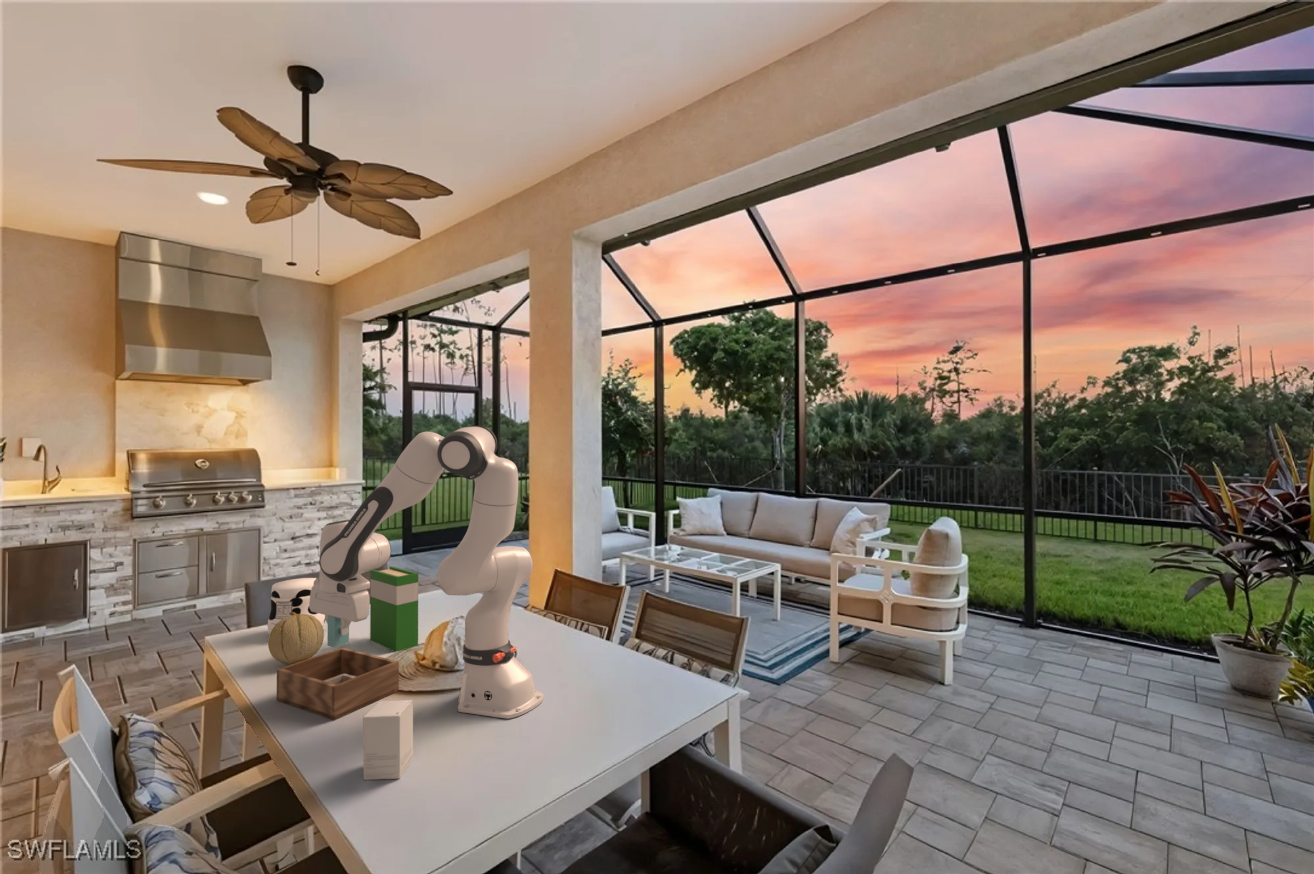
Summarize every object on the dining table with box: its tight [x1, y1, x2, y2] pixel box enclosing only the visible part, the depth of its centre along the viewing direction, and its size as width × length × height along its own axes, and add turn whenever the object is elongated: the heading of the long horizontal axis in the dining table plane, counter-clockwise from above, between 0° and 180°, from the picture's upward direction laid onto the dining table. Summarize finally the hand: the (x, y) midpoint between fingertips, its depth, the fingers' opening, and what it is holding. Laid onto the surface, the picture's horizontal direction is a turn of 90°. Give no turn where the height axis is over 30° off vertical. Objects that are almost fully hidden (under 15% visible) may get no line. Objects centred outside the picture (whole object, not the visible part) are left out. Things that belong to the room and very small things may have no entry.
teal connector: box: [326, 615, 350, 648], centre depth 150 cm, size 3×4×8 cm
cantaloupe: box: [267, 612, 325, 665], centre depth 173 cm, size 15×15×15 cm
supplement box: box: [362, 699, 414, 781], centre depth 115 cm, size 7×7×13 cm
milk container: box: [267, 577, 326, 634], centre depth 199 cm, size 17×17×18 cm
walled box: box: [276, 647, 400, 721], centre depth 149 cm, size 24×18×8 cm
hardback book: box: [369, 566, 419, 653], centre depth 190 cm, size 18×7×24 cm, turn 52°
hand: (338, 632), depth 150 cm, fingers closed on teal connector, 3 cm apart
